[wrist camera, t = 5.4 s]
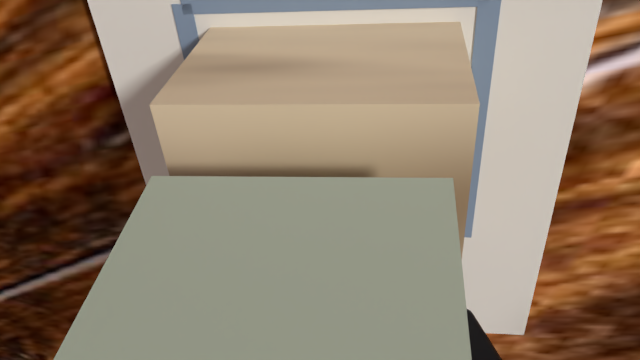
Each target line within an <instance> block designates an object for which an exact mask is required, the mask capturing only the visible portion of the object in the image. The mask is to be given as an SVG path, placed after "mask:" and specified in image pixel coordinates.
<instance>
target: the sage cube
mask: <svg viewBox="0 0 640 360" xmlns="http://www.w3.org/2000/svg"><path fill="white" fill-rule="evenodd" d="M53 360H472V357H471V347H470V338H469V328H468V318H467V308H466V299H465V289H464V279H463V269H462V259H461V250H460V240H459V230H458V220H457V211H456V201H455V191H454V181H453V178H387V177H236V176H151V178H150V180H149V182H148V184H147V186H146V187H145V189H144V191H143V193H142V195H141V197H140V199H139V200H138V202H137V204H136V206H135V208H134V210H133V212H132V214H131V215H130V217H129V219H128V221H127V223H126V225H125V227H124V229H123V230H122V232H121V234H120V236H119V238H118V240H117V242H116V243H115V245H114V247H113V249H112V251H111V253H110V255H109V257H108V258H107V260H106V262H105V264H104V266H103V268H102V270H101V272H100V273H99V275H98V277H97V279H96V281H95V283H94V285H93V286H92V288H91V290H90V292H89V294H88V296H87V298H86V300H85V301H84V303H83V305H82V307H81V309H80V311H79V313H78V315H77V316H76V318H75V320H74V322H73V324H72V326H71V328H70V329H69V331H68V333H67V335H66V337H65V339H64V341H63V343H62V344H61V346H60V348H59V350H58V352H57V354H56V356H55V357H54V359H53Z"/></svg>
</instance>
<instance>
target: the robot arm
mask: <svg viewBox="0 0 640 360" xmlns="http://www.w3.org/2000/svg"><path fill="white" fill-rule="evenodd" d="M467 318H468V328H469V338H470V347H471V357H472V360H502V359H501V357H500V356H499V354H498V353H497V351H496V349H495V348H494V346H493V345H492V343H491V341H490V340H489V338H488V337H487V335H486V334H485V332H484V330H483V329H482V327H481V326H480V324H479V322H478V321H477V319H476V318H475V316H474V314H473V313H472V312H471V311H470V310H469V309H467Z"/></svg>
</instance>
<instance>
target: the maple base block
mask: <svg viewBox="0 0 640 360" xmlns="http://www.w3.org/2000/svg"><path fill="white" fill-rule="evenodd" d="M479 107H480V102H479V98H478V94H477V90H476V86H475V81H474V77H473V73H472V69H471V65H470V60H469V56H468V52H467V48H466V44H465V39H464V35H463V31H462V27H461V23H460V22H424V23H381V24H338V25H295V26H252V27H210V28H209V30H208V31H207V32H206V34H205V35H204V36H203V37H202V39H201V40H200V41H199V42H198V44H197V45H196V46H195V47H194V49H193V50H192V51H191V53H190V54H189V55H188V56H187V58H186V59H185V60H184V61H183V63H182V64H181V65H180V67H179V68H178V69H177V70H176V72H175V73H174V74H173V75H172V77H171V78H170V79H169V80H168V82H167V83H166V84H165V86H164V87H163V88H162V89H161V91H160V92H159V93H158V94H157V96H156V97H155V98H154V100H153V101H152V102H151V103H150V109H151V112H152V116H153V119H154V123H155V127H156V130H157V134H158V137H159V141H160V144H161V148H162V151H163V155H164V158H165V162H166V165H167V169H168V172H169V176H236V177H387V178H453V181H454V191H455V201H456V211H457V220H458V230H459V240H460V250H461V259H462V253H463V244H464V236H465V227H466V219H467V210H468V202H469V193H470V184H471V176H472V167H473V159H474V150H475V141H476V133H477V124H478V116H479Z"/></svg>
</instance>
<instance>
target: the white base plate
mask: <svg viewBox="0 0 640 360" xmlns="http://www.w3.org/2000/svg"><path fill="white" fill-rule="evenodd" d="M87 1H88V4H89V8H90V11H91V14H92V17H93V20H94V23H95V26H96V29H97V33H98V36H99V39H100V42H101V45H102V48H103V51H104V55H105V58H106V61H107V64H108V67H109V70H110V73H111V77H112V80H113V83H114V86H115V89H116V92H117V95H118V99H119V102H120V105H121V108H122V111H123V114H124V117H125V121H126V124H127V127H128V130H129V133H130V136H131V139H132V143H133V146H134V149H135V152H136V155H137V158H138V161H139V164H140V168H141V171H142V174H143V177H144V180H145V183H146V186H147V184H148V182H149V180H150V178H151V176H169V172H168V169H167V165H166V162H165V158H164V155H163V151H162V148H161V144H160V141H159V137H158V134H157V130H156V127H155V123H154V119H153V116H152V112H151V109H150V103H151V102H152V101H153V100H154V98H155V97H156V96H157V94H158V93H159V92H160V91H161V89H162V88H163V87H164V86H165V84H166V83H167V82H168V80H169V79H170V78H171V77H172V75H173V74H174V73H175V72H176V70H177V69H178V68H179V67H180V65H181V64H182V63H183V61H184V60H185V59H186V58H187V56H188V55H189V54H190V53H191V51H192V50H193V49H194V47H195V46H196V45H197V44H198V42H199V41H200V40H201V39H202V37H203V36H204V35H205V34H206V32H207V31H208V30H209V28H210V27H252V26H295V25H338V24H381V23H424V22H460V23H461V27H462V31H463V35H464V39H465V44H466V48H467V52H468V56H469V60H470V65H471V69H472V73H473V77H474V81H475V86H476V90H477V94H478V98H479V102H480V107H479V116H478V124H477V133H476V141H475V150H474V159H473V167H472V176H471V184H470V193H469V202H468V210H467V219H466V227H465V236H464V244H463V253H462V269H463V279H464V289H465V299H466V308H467V309H469V310H470V311H471V312H472V313H473V314H474V316H475V318H476V319H477V321H478V322H479V324H480V326H481V327H482V329H483V330H484V332H485V333H496V334H514V335H524V332H525V328H526V323H527V319H528V315H529V311H530V306H531V302H532V298H533V294H534V289H535V285H536V281H537V277H538V272H539V268H540V264H541V260H542V255H543V251H544V247H545V243H546V238H547V234H548V230H549V226H550V221H551V217H552V213H553V209H554V204H555V200H556V196H557V192H558V187H559V183H560V179H561V175H562V170H563V166H564V162H565V158H566V153H567V149H568V145H569V141H570V136H571V132H572V128H573V124H574V119H575V115H576V111H577V107H578V102H579V98H580V94H581V90H582V85H583V81H584V77H585V73H586V68H587V64H588V60H589V56H590V51H591V47H592V43H593V39H594V34H595V30H596V26H597V22H598V17H599V13H600V9H601V5H602V0H87Z"/></svg>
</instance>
